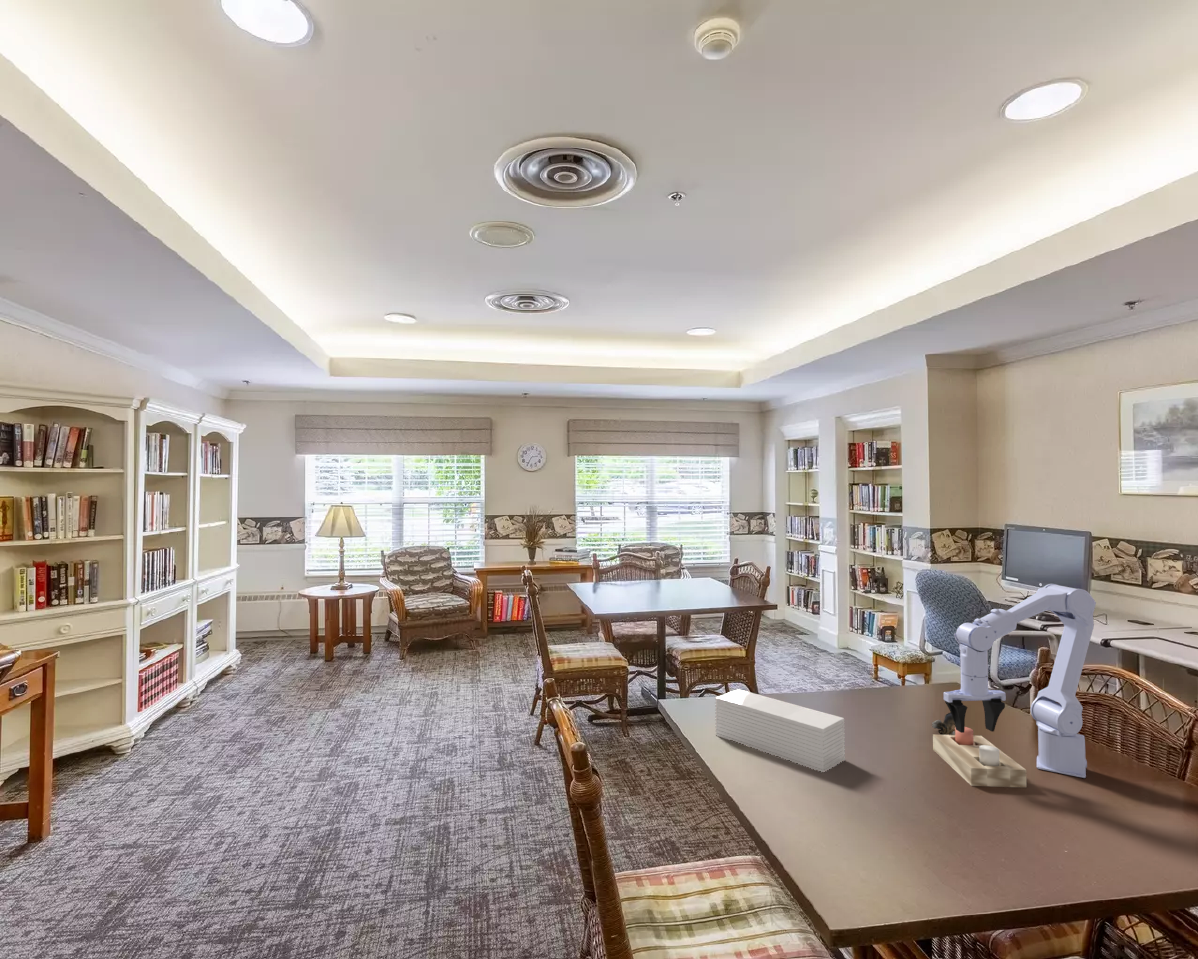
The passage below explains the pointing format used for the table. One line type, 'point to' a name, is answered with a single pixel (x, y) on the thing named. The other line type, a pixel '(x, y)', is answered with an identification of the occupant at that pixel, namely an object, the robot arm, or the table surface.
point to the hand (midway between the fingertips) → (975, 730)
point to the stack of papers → (781, 729)
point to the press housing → (972, 770)
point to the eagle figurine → (945, 725)
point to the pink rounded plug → (964, 737)
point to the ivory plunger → (988, 755)
